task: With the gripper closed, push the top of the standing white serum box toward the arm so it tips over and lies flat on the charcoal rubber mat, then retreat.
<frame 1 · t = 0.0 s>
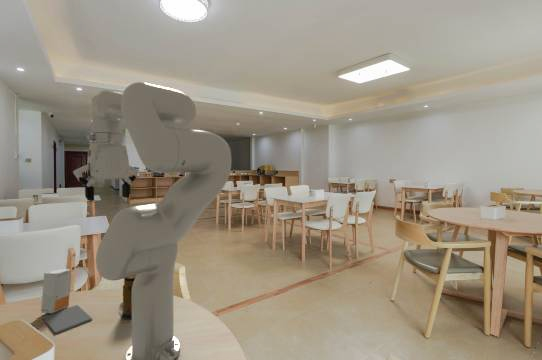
hand: (108, 198, 82), 37 cm above the table, tool pointing down, fingers open, 9 cm apart
skincare box: (55, 310, 89), on the table, touching mat
condiment: (134, 314, 89), on the table
mat: (67, 319, 85), on the table
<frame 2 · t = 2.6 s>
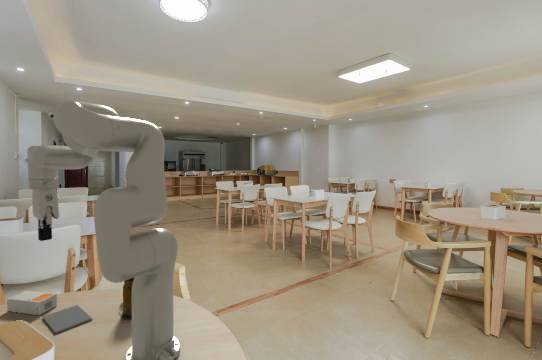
hand: (45, 239, 92), 21 cm above the table, tool pointing down, fingers closed
skincare box: (49, 304, 89), point 2 cm above the table
everything else where it was.
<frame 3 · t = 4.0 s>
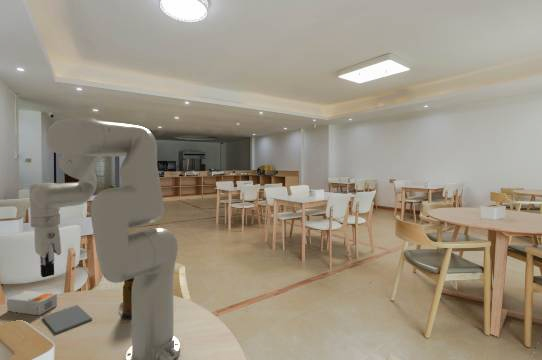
hand: (47, 275, 93), 10 cm above the table, tool pointing down, fingers closed
nothing on the table moved.
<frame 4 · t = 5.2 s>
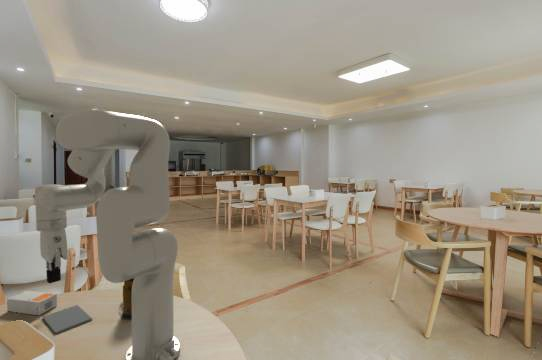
hand: (53, 281, 89), 9 cm above the table, tool pointing down, fingers closed
nothing on the table moved.
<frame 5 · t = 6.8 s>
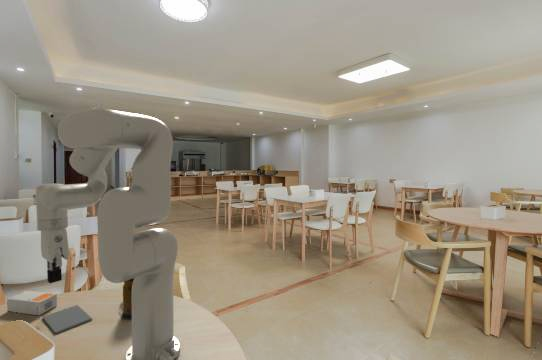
hand: (54, 281, 88), 10 cm above the table, tool pointing down, fingers closed
nothing on the table moved.
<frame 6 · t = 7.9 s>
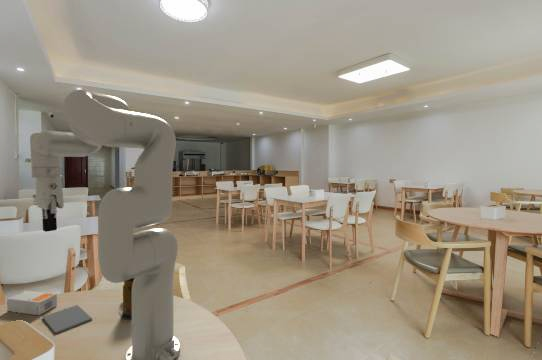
hand: (49, 230, 89), 25 cm above the table, tool pointing down, fingers closed
nothing on the table moved.
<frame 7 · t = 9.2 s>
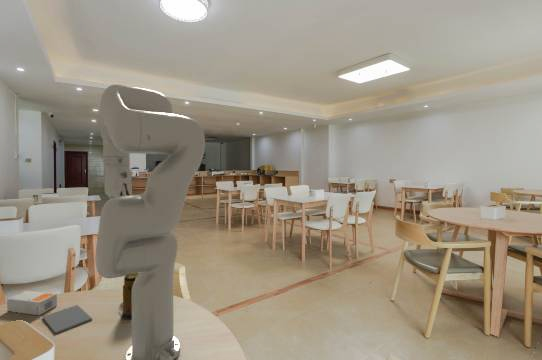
hand: (117, 217, 93), 29 cm above the table, tool pointing down, fingers closed
nothing on the table moved.
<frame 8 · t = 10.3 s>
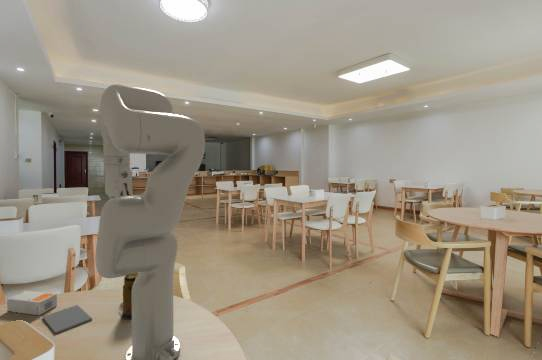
hand: (118, 217, 93), 29 cm above the table, tool pointing down, fingers closed
nothing on the table moved.
at the end: skincare box tilted 91°; skincare box inside the target area (8.7 cm from its centre), point 2.2 cm above the table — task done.
